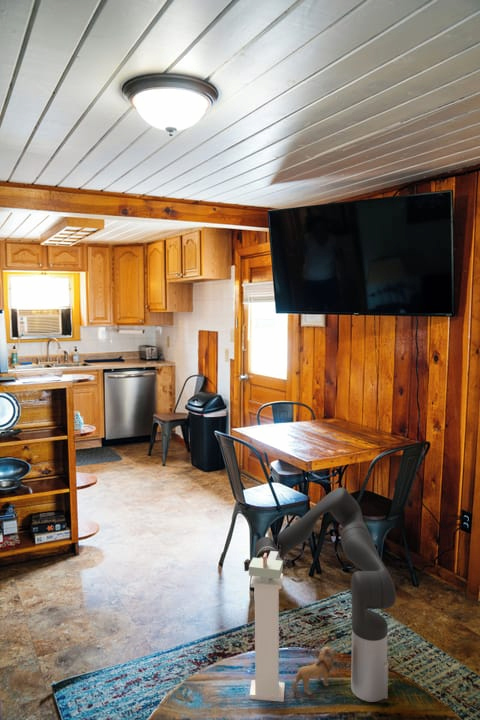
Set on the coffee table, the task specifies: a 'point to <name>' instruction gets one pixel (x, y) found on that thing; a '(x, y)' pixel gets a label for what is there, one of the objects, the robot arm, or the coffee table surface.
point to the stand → (267, 641)
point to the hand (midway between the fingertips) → (267, 567)
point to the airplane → (266, 567)
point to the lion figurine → (315, 670)
